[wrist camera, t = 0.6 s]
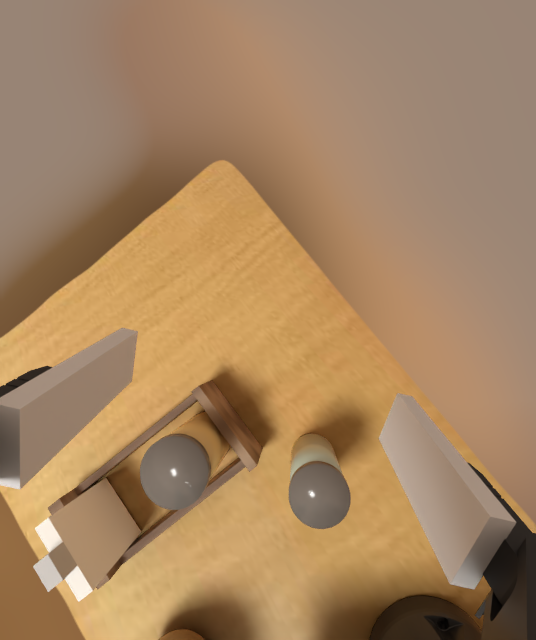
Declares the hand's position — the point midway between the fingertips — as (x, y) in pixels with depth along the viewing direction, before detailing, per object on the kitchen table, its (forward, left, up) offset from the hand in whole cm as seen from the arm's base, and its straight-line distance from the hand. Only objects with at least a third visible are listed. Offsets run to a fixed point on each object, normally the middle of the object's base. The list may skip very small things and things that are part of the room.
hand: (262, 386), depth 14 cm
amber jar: (-2, +15, -28) cm, 32 cm away
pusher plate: (-2, +32, -27) cm, 42 cm away
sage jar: (-13, +5, -28) cm, 31 cm away
